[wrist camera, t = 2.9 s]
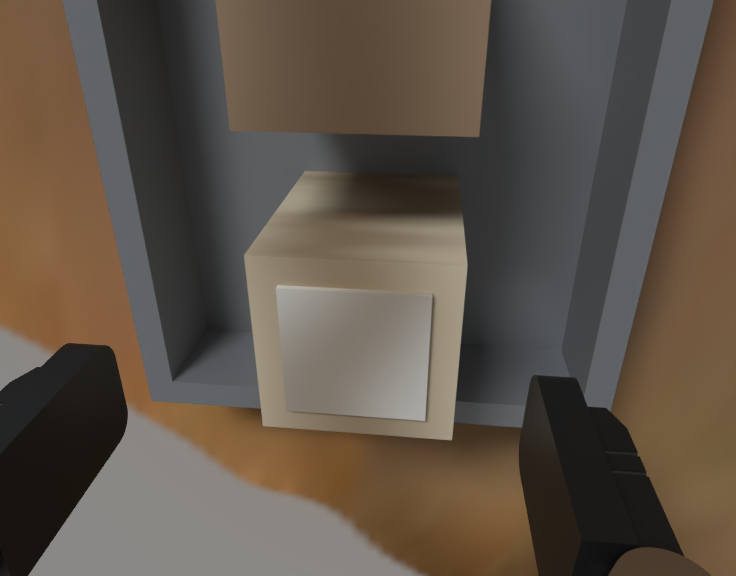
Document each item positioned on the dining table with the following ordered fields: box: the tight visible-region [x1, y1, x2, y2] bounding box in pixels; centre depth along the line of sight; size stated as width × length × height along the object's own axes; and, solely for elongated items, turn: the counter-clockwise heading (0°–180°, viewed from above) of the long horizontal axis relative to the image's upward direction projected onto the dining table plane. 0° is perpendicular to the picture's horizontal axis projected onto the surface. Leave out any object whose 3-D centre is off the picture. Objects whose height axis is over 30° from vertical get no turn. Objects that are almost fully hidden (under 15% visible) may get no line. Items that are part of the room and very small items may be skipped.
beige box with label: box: [244, 171, 468, 440], centre depth 15 cm, size 4×4×6 cm
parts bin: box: [62, 0, 714, 428], centre depth 15 cm, size 14×16×4 cm
